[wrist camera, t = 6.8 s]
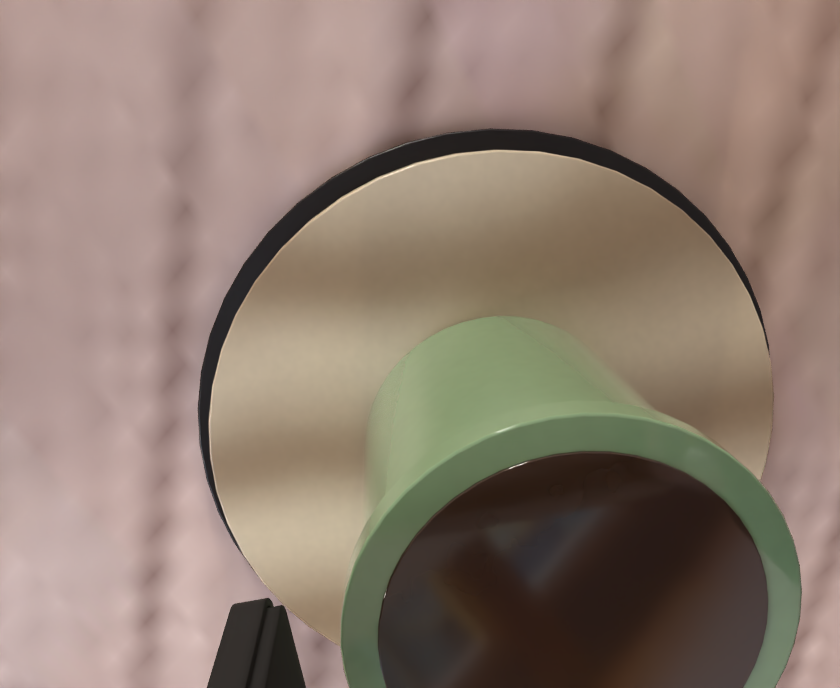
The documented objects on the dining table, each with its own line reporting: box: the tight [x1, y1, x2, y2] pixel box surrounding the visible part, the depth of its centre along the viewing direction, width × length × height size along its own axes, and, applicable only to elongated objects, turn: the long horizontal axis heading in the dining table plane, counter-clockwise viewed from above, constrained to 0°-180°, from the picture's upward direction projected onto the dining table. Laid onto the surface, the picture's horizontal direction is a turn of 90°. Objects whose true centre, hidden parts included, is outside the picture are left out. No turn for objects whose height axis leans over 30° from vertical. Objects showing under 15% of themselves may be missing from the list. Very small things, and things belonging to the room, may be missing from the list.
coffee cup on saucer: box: [209, 150, 802, 688], centre depth 15 cm, size 15×15×8 cm
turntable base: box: [198, 129, 770, 573], centre depth 20 cm, size 16×16×1 cm
